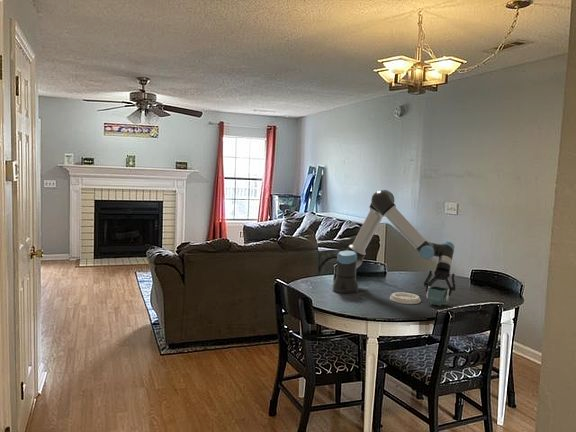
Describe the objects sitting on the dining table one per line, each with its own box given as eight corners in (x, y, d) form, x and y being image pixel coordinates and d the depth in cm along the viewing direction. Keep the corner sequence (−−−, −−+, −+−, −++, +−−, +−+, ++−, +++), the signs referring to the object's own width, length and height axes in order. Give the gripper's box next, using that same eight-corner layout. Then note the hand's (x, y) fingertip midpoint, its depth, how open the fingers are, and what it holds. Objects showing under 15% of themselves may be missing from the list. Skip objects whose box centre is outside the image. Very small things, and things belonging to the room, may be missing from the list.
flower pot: (432, 301, 278) (434, 285, 277) (448, 304, 272) (449, 288, 272) (426, 304, 271) (427, 288, 270) (442, 307, 266) (443, 291, 265)
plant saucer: (403, 305, 267) (403, 300, 267) (383, 297, 282) (383, 293, 282) (427, 302, 275) (427, 298, 275) (406, 295, 290) (406, 291, 290)
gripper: (464, 271, 279) (458, 305, 266) (424, 266, 289) (417, 299, 276) (464, 264, 274) (458, 297, 261) (423, 259, 284) (415, 291, 271)
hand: (436, 298), depth 269 cm, fingers closed on flower pot, 10 cm apart
